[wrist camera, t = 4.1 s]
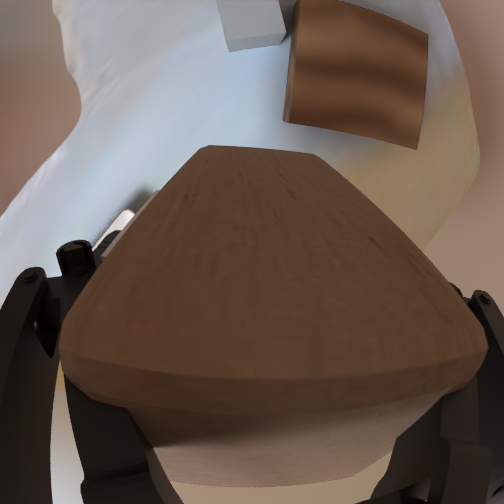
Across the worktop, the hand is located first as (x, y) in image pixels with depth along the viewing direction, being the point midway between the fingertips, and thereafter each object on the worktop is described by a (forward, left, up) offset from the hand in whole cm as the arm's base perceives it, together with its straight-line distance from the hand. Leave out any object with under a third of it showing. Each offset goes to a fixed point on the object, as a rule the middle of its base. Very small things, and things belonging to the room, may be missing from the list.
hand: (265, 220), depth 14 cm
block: (+2, 0, -9) cm, 9 cm away
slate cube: (-17, -2, -21) cm, 27 cm away
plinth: (-13, +11, -21) cm, 27 cm away
